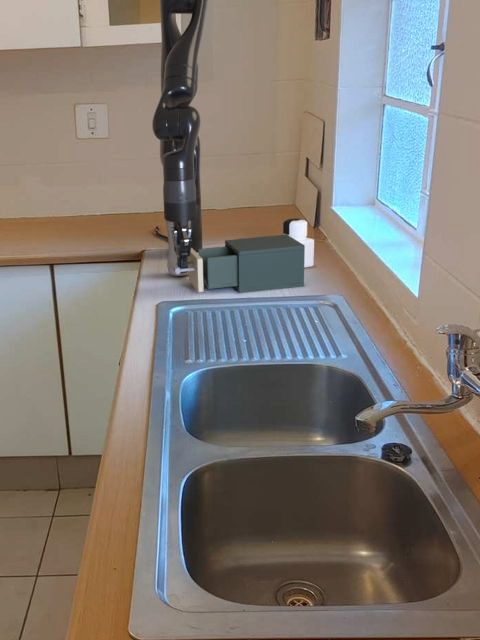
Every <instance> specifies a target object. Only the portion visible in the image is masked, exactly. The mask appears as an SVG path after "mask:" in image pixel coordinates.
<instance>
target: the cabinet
mask: <svg viewBox="0 0 480 640" xmlns="http://www.w3.org/2000/svg"><path fill="white" fill-rule="evenodd" d="M225 246H228V247H230V248H231V249H232V250H233V251H234V252H235V253H237V254H238V286H232V287H233V288H234V289H235V290H236V291H237V292H238V293H240V294H241V293H250V292H251V293H252V292H259V291H260V292H261V291H269V290H279V289H290V288H297V287H298V288H300V287H304V286H305V268H304V256H305V245H303V244H301V243H300V242H298V241H297V240H295V239H293V238H292V237H290V236H288V235H287V234H286V235H283V234H277V235H266V236H265V235H264V236H256V237H246V238H233V239H226V240H224V247H225Z"/></svg>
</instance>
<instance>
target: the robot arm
mask: <svg viewBox="0 0 480 640" xmlns="http://www.w3.org/2000/svg"><path fill="white" fill-rule="evenodd" d="M208 3H209V0H159V14H160V16H159V17H160V32H161V34H160V35H161V36H160V37H161V50H160V51H161V53H160V54H161V56H160V60H161V61H160V98H159V101H158V103H157V105H156V108H155V111H154V113H153V117H152V122H151V126H152V132H153V135H154V136H155V137H156V139H158V140H159V159H160V163H161V165H162V176H163V177H162V178H163V184H162V196H163V215H164V216H163V217H164V220H166V221H169V222H174V223H173V225H174V227H172V228H171V230H172V231H171V233H172V238H173V245H174V251H175V252H176V256H177V263H178V267H179V268H180V269H184V268H188V256H190V251H191V248H193V250H194V251H195V252H196V253H197V254H198V255H199V253H198V249H203V219H202V193H201V192H202V191H201V190H202V189H201V153H202V152H201V140H200V136H199V132H200V128H201V123H202V122H201V115H200V112H199V111H198V109H197V108H195V106H191V104H192V102H193V100H194V99H195V97H196V94H197V92H198V86H199V85H198V84H199V83H198V82H199V64H198V58H199V52H200V46H201V42H202V37H203V32H204V27H205V21H206V14H207V8H208ZM175 15H191V17H190V20H189V23H188V25H187V27H186V28H185V30H184V31H183V33H181V31H180V29H179V26H178V24H177V20H176V16H175ZM190 220H191V225H190V228H189V227H188V222H189V221H190ZM166 221H165V222H166ZM158 227H159V226H158V225H156V227H155V235H157V236H158V237H160V238H163V239H165V240H167V241H169V240H168V235H164V234H161V233H159V230H160V227H159V228H158ZM156 229H158V231H156ZM187 272H188V271H185V272H181V273H187Z"/></svg>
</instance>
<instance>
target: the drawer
mask: <svg viewBox="0 0 480 640" xmlns="http://www.w3.org/2000/svg"><path fill="white" fill-rule="evenodd" d="M198 253H199V255H198V254H197V253H196V252H195V251H194V250H193V248H191V251H190V256H188V268H184V269H180V268H179V267H178V263H175V262H174V261H172V262H170V266H171V267H172V269H173V270H174V271H175V273H176V274H180V273H181V272H185V271H188V275H187V276H188V277H187V279H188V281H189V282H190V283H191V285H192V286H193V287H194V289H195V290H196V291H197V292H198V293H204V285H205V287H207V289H209V290H210V289H211V290H212V289H220V288H222V289H223V288H229V287H230V288H231V287H233V286H238V254H237V253H235V252H234V251H233V250H232V249H231V248H230V247H228V246H225V245H224V246H215V247H206V248H202V249H198Z"/></svg>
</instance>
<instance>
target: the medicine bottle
mask: <svg viewBox="0 0 480 640" xmlns="http://www.w3.org/2000/svg"><path fill="white" fill-rule="evenodd" d="M286 234H287V235H288V236H290V237H292V238H293V239H295V240H297V241H298V242H300V243H301V244H303V245H305V256H304V269H306V268H311V267H314V265H315V264H314V262H315V261H314V260H315V239H314V238H310V237H307V236H308V221H307V220H306V219H303V218H288V219H286V220H284V221H283V223H282V235H286Z"/></svg>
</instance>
